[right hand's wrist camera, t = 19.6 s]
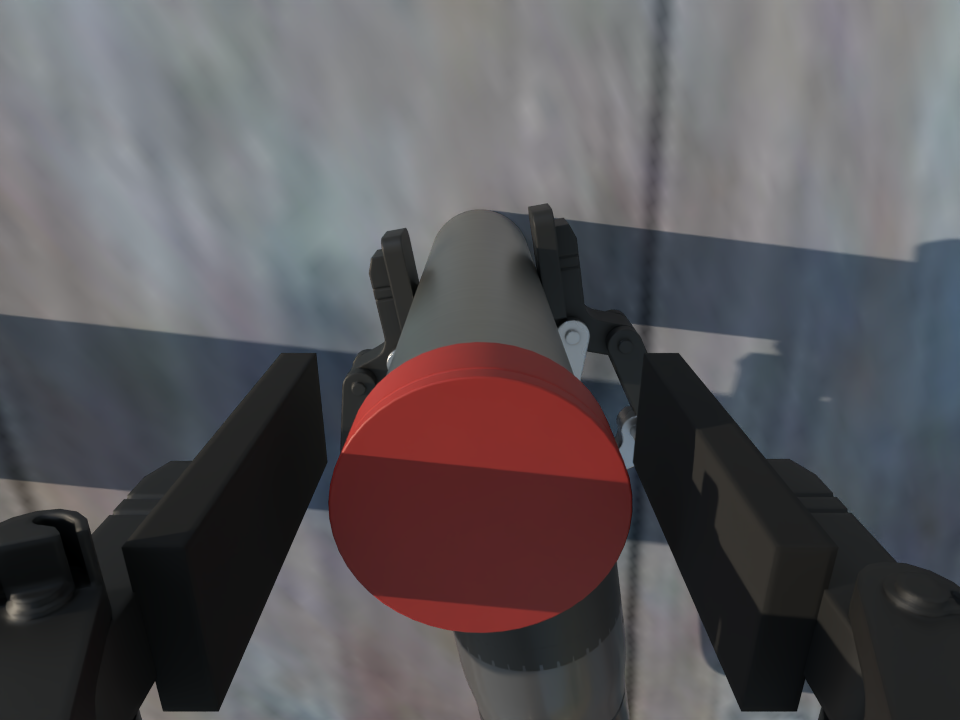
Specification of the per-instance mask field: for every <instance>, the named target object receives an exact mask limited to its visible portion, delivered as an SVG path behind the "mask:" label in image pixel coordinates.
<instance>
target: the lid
mask: <svg viewBox="0 0 960 720" xmlns="http://www.w3.org/2000/svg"><path fill="white" fill-rule="evenodd" d="M328 503H329V519H330V524H331V528H332V533H333V537H334V539H335V542H336V545H337V547H338V550H339V552H340V554H341V556H342V558H343V559H344V561H345V563H346V565H347V567H348V568H349V569H350V571H351V572H352V573H353V575H354V576H355V577H356V579H357V580H358V581H359V582H360V583H361V584H362V585H363V586H364V587H365V588H366V589H367V590H368V591H369V592H370V593H371V594H372V595H374V596H375V597H376V598H377V599H379V600H380V601H381V602H382V603H384V604H385V605H387V606H389V607H390V608H392V609H393V610H395V611H397V612H398V613H400V614H402V615H405V616H407V617H409V618H411V619H413V620H415V621H418V622H421V623H424V624H427V625H430V626H433V627H438V628H442V629H446V630H452V631H460V632H471V633H490V632H503V631H509V630H514V629H520V628H524V627H527V626H531V625H534V624H538V623H540V622H543V621H545V620H548V619H550V618H553V617H555V616H557V615H558V614H560V613H562V612H564V611H566V610H568V609H570V608H571V607H573V606H574V605H575V604H577V603H578V602H580V601H581V600H583V599H584V598H585V597H586V596H587V595H589V594H590V593H591V592H592V591H593V590H594V589H595V588H596V587H597V586H598V585H599V584H600V583H601V582H602V581H603V579H604V578H605V577H606V576H607V575H608V574H609V572H610V571H611V569H612V568H613V566H614V565H615V563H616V562H617V560H618V558H619V556H620V554H621V552H622V550H623V547H624V545H625V542H626V539H627V536H628V533H629V529H630V524H631V517H632V490H631V484H630V478H629V475H628V472H627V469H626V466H625V463H624V460H623V458H622V455H621V453H620V451H619V448H618V445H617V443H616V441H615V438H614V436H613V433H612V431H611V429H610V426H609V424H608V421H607V419H606V417H605V415H604V413H603V411H602V409H601V407H600V405H599V403H598V402H597V401H596V399H595V398H594V396H593V395H592V394H591V392H590V391H589V390H588V389H587V388H586V387H585V385H584V384H583V383H582V382H581V381H580V380H579V379H578V378H577V377H575V376H574V375H573V374H572V373H570V372H569V371H568V370H567V369H565V368H564V367H563V366H561V365H559V364H558V363H556V362H554V361H553V360H551V359H549V358H547V357H545V356H543V355H540V354H538V353H536V352H533V351H531V350H527V349H524V348H520V347H517V346H513V345H507V344H501V343H490V342H471V343H459V344H454V345H449V346H444V347H440V348H437V349H434V350H431V351H428V352H425V353H422V354H420V355H418V356H416V357H414V358H412V359H410V360H408V361H406V362H405V363H403V364H402V365H400V366H399V367H397V368H396V369H394V370H393V371H391V372H390V373H389V374H388V375H387V376H386V377H385V378H383V379H382V380H381V381H380V382H379V383H378V384H377V385H376V386H375V388H374V389H373V390H372V391H371V392H370V393H369V395H368V396H367V397H366V399H365V401H364V402H363V404H362V405H361V407H360V409H359V410H358V412H357V415H356V417H355V419H354V422H353V424H352V426H351V429H350V431H349V434H348V436H347V439H346V441H345V443H344V446H343V448H342V451H341V453H340V456H339V458H338V461H337V463H336V465H335V468H334V472H333V476H332V479H331V483H330V491H329V501H328Z"/></svg>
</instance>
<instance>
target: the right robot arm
mask: <svg viewBox="0 0 960 720" xmlns="http://www.w3.org/2000/svg"><path fill="white" fill-rule="evenodd" d="M326 464H327V454H326V444H325V434H324V425H323V415H322V405H321V395H320V385H319V376H318V366H317V356H316V353H281V354H280V355H279V357H278V358H277V359H276V360H275V362H274V363H273V364H272V365H271V366H270V368H269V369H268V370H267V371H266V372H265V374H264V375H263V376H262V377H261V378H260V380H259V381H258V382H257V383H256V385H255V386H254V387H253V388H252V389H251V391H250V392H249V393H248V394H247V395H246V397H245V398H244V399H243V400H242V402H241V403H240V404H239V405H238V406H237V408H236V409H235V410H234V411H233V412H232V414H231V415H230V416H229V417H228V419H227V420H226V421H225V422H224V423H223V425H222V426H221V427H220V428H219V429H218V431H217V432H216V433H215V434H214V435H213V437H212V438H211V439H210V440H209V442H208V443H207V444H206V445H205V446H204V448H203V449H202V450H201V451H200V452H199V454H198V455H197V456H196V457H195V459H194V460H193V461H170V462H169V463H167V464H165V465H164V466H162V467H160V468H159V469H157V470H155V471H154V472H152V473H150V474H149V475H147V476H145V477H144V478H143V479H142V480H141V481H140V482H139V484H138V485H137V486H136V487H135V488H134V489H133V490H132V491H131V492H130V493H129V494H128V497H127V499H124V500H123V501H122V502H121V503H120V504H119V505H118V506H117V507H116V509H115V510H114V511H113V515H109V516H108V517H107V518H106V519H105V521H104V522H103V523H102V524H101V525H100V526H99V527H98V528H97V529H96V530H95V531H94V532H93V534H92V535H91V532H90V528H89V524H88V521H87V518H85V517H84V516H82V515H81V514H80V513H78V512H76V511H70V510H64V509H54V510H43V511H35V512H32V513H28V514H24V515H20V516H16V517H13V518H10V519H8V520H6V521H3V522H1V523H0V720H142V718H141V714H140V711H139V708H140V706H141V705H142V703H143V701H144V699H145V698H146V696H147V694H148V692H149V691H150V689H151V687H152V685H153V684H154V682H156V686H157V689H158V693H159V697H160V701H161V705H162V709H163V711H219V709H220V707H221V705H222V703H223V700H224V698H225V696H226V693H227V691H228V689H229V687H230V684H231V682H232V680H233V677H234V675H235V673H236V670H237V668H238V666H239V664H240V661H241V659H242V657H243V654H244V652H245V650H246V648H247V645H248V643H249V641H250V638H251V636H252V634H253V631H254V629H255V627H256V625H257V622H258V620H259V618H260V615H261V613H262V611H263V609H264V606H265V604H266V602H267V599H268V597H269V595H270V593H271V590H272V588H273V586H274V583H275V581H276V579H277V576H278V574H279V572H280V570H281V567H282V565H283V563H284V560H285V558H286V556H287V554H288V551H289V549H290V547H291V544H292V542H293V540H294V538H295V535H296V533H297V531H298V528H299V526H300V524H301V521H302V519H303V517H304V515H305V512H306V510H307V508H308V505H309V503H310V501H311V499H312V496H313V494H314V492H315V489H316V487H317V485H318V482H319V480H320V478H321V476H322V473H323V471H324V469H325V466H326ZM633 464H634V466H635V469H636V471H637V473H638V476H639V478H640V480H641V482H642V485H643V487H644V489H645V492H646V494H647V496H648V499H649V501H650V503H651V505H652V508H653V510H654V512H655V515H656V517H657V519H658V521H659V524H660V526H661V528H662V531H663V533H664V535H665V538H666V540H667V542H668V544H669V547H670V549H671V551H672V554H673V556H674V558H675V560H676V563H677V565H678V567H679V570H680V572H681V574H682V576H683V579H684V581H685V583H686V586H687V588H688V590H689V593H690V595H691V597H692V599H693V602H694V604H695V606H696V609H697V611H698V613H699V615H700V618H701V620H702V622H703V625H704V627H705V629H706V632H707V634H708V636H709V638H710V641H711V643H712V645H713V648H714V650H715V652H716V654H717V657H718V659H719V661H720V664H721V666H722V668H723V670H724V673H725V675H726V677H727V680H728V682H729V684H730V687H731V689H732V691H733V693H734V696H735V698H736V700H737V703H738V705H739V707H740V709H741V711H797V709H798V705H799V701H800V697H801V693H802V689H803V686H804V682H805V679H806V680H807V682H808V684H809V686H810V687H811V689H812V691H813V693H814V694H815V696H816V698H817V700H818V701H819V703H820V705H821V706H822V707H821V711H820V714H819V718H818V720H960V587H959V586H958V585H956V584H955V583H954V582H952V581H950V580H948V579H946V578H944V577H942V576H940V575H938V574H936V573H934V572H932V571H929V570H926V569H923V568H919V567H916V566H913V565H909V564H906V563H897V562H896V561H895V560H894V559H893V557H892V556H891V555H890V554H889V553H888V552H887V551H886V550H885V549H884V548H883V547H882V546H881V545H880V543H879V542H878V541H877V540H876V539H875V538H874V537H873V536H872V535H871V534H870V533H869V532H868V531H867V529H866V528H865V527H864V526H863V525H862V524H861V523H860V522H859V521H858V520H857V519H856V518H855V516H854V515H853V514H852V513H848V511H847V508H846V507H845V506H844V505H843V504H842V502H841V501H840V500H839V499H838V498H837V497H833V493H832V492H831V491H830V489H829V488H828V487H827V486H826V485H825V484H824V483H823V482H822V481H821V480H820V479H819V478H818V477H817V475H815V474H814V473H812V472H810V471H809V470H807V469H805V468H804V467H802V466H800V465H799V464H797V463H795V462H794V461H792V460H790V459H765V457H764V456H763V455H762V454H761V452H760V451H759V450H758V449H757V448H756V446H755V445H754V444H753V443H752V442H751V440H750V439H749V438H748V437H747V435H746V434H745V433H744V432H743V431H742V429H741V428H740V427H739V426H738V425H737V423H736V422H735V421H734V420H733V419H732V417H731V416H730V415H729V414H728V412H727V411H726V410H725V409H724V408H723V406H722V405H721V404H720V403H719V402H718V400H717V399H716V398H715V397H714V395H713V394H712V393H711V392H710V391H709V389H708V388H707V387H706V386H705V385H704V383H703V382H702V381H701V380H700V378H699V377H698V376H697V375H696V374H695V372H694V371H693V370H692V369H691V368H690V366H689V365H688V364H687V363H686V362H685V360H684V359H683V358H682V357H681V355H680V354H679V353H644V356H643V366H642V376H641V385H640V395H639V405H638V415H637V425H636V434H635V444H634V454H633Z"/></svg>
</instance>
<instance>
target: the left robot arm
mask: <svg viewBox="0 0 960 720" xmlns="http://www.w3.org/2000/svg"><path fill="white" fill-rule="evenodd" d="M528 211H529V219H530V226H531V233H532V240H533V247H534V254H535V261H536V268H537V273H538V276H539V279H540V282H541V284H542V287H543V290H544V293H545V295H546V298H547V301H548V304H549V307H550V309H551V312H552V315H553V318H554V321H555V323H556V326H557V329H558V332H559V334H560V337H561V340H562V343H563V346H564V348H565V351H566V354H567V357H568V360H569V362H570V365H571V368H572V371H573V373H574V376H575V377H577V378H578V379H579V380H580V381H581V376H582V371H583V367H584V362H585V357H586V353H587V351H588V352H594V353H600V354H605V355H608V356H609V358H610V360H611V363H612V365H613V367H614V369H615V372H616V374H617V376H618V379H619V381H620V383H621V385H622V388H623V390H624V392H625V394H626V397H627V399H628V401H629V403H630V406H627V407H625V408H623V409H622V410H621V411H620V413H619V414H618V416H617V426H618V432H617V435H616V437H615V441H616V443H617V445H618V448H619V451H620V453H621V455H622V458H623V460H624V463H625V466H626V469H629V468H632V467H634V464H633V454H634V444H635V434H636V425H637V415H638V405H639V395H640V385H641V376H642V366H643V356H644V353H647V351H646V349H645V346H644V344H643V342H642V339H641V337H640V336H639V334H638V333H637V331H636V330H635V329H634V327H633V326H632V324H631V323H630V322H629V320H628V319H627V318H626V316H625V315H624V314H623V313H622V312H620V311H618V310H608V311H600V310H594V309H591V308H588V307H587V306H586V305H584V297H583V289H582V280H581V271H580V263H579V256H578V246H577V238H576V236H575V234H574V233H573V231H572V229H571V227H570V225H569V224H568V223H567V221H566V220H565V219H564V218H559V219H554V216H553V212H552V209H551V207H550V206H549V205H548V203H547V204H541V205H536V206H530V207H528ZM381 245H382V249H380V250H377V251H376V253H375V254H374V255H373V257H372V258H371V263H370V270H369V276H370V280H371V284H372V288H373V292H374V296H375V299H376V304H377V308H378V312H379V316H380V320H381V325H382V329H383V333H384V337H385V342H384V343H382V344H381V345H379V346H377V347H375V348H374V349H366V350H363V351H361V352H360V353H358V355H357V356H356V358H355V360H354V362H353V367H352V369H351V371H350V372H349V373H348V374H347V376H346V378H345V380H344V382H343V386H342V418H341V451H342V448H343V446H344V443H345V441H346V439H347V436H348V434H349V431H350V429H351V426H352V424H353V422H354V419H355V417H356V415H357V412H358V410H359V409H360V407H361V405H362V404H363V402H364V401H365V399H366V397H367V396H368V395H369V393H370V392H371V391H372V390H373V389H374V388H375V386H376V385H377V384H378V383H379V382H380V381H381V380H382V379H383V378H385V377H386V375H387V372H388V369H389V367H390V364H391V361H392V358H393V355H394V353H395V350H396V347H397V344H398V341H399V338H400V336H401V333H402V330H403V327H404V324H405V322H406V319H407V316H408V313H409V310H410V308H411V305H412V302H413V299H414V296H415V294H416V291H417V288H418V285H419V279H418V274H417V270H416V265H415V260H414V256H413V251H412V247H411V242H410V237H409V234H408V231H407V229H406V228H403V229H397V230H392V231H387V232H386V233H385V234H384V236H383V237H382V239H381ZM341 451H340V453H341ZM453 632H454V636H455V640H456V645H457V649H458V653H459V657H460V661H461V664H462V668H463V671H464V674H465V677H466V680H467V682H468V685H469V687H470V689H471V691H472V693H473V695H474V698H475V700H476V703H477V706H478V710H479V714H480V718H481V720H630V718H629V709H628V701H627V693H626V685H625V661H626V641H625V629H624V620H623V612H622V604H621V594H620V586H619V577H618V568H617V562H616V563H615V565H614V566H613V568H612V569H611V571H610V572H609V574H608V575H607V576H606V577H605V578H604V579H603V581H602V582H601V583H600V584H599V585H598V586H597V587H596V588H595V589H594V590H593V591H592V592H591V593H590V594H589V595H587V596H586V597H585V598H584V599H583V600H581V601H580V602H578V603H577V604H575V605H574V606H573V607H571V608H570V609H568V610H566V611H564V612H562V613H560V614H558V615H557V616H555V617H553V618H550V619H548V620H545V621H543V622H540V623H538V624H534V625H531V626H527V627H524V628H520V629H514V630H509V631H503V632H490V633H471V632H460V631H453Z"/></svg>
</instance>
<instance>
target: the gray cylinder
mask: <svg viewBox="0 0 960 720" xmlns="http://www.w3.org/2000/svg"><path fill="white" fill-rule="evenodd" d="M471 342H490V343H501V344H507V345H513V346H517V347H520V348H524V349H527V350H531V351H533V352H536V353H538V354H540V355H543V356H545V357H547V358H549V359H551V360H553V361H554V362H556V363H558V364H559V365H561V366H563V367H564V368H565V369H567V370H568V371H569V372H570V373H572V374H573V375H574V373H573V371H572V368H571V365H570V362H569V360H568V357H567V354H566V351H565V348H564V346H563V343H562V340H561V337H560V334H559V332H558V329H557V326H556V323H555V321H554V318H553V315H552V312H551V309H550V307H549V304H548V301H547V298H546V295H545V293H544V290H543V287H542V284H541V282H540V279H539V276H538V273H537V270H536V268H535V265H534V262H533V259H532V256H531V254H530V251H529V248H528V245H527V243H526V240H525V238H524V236H523V234H522V232H521V231H520V229H519V228H518V227H517V226H516V225H515V224H514V223H513V222H512V221H511V220H510V219H508V218H507V217H505V216H503V215H501V214H499V213H497V212H493V211H489V210H471V211H467V212H464V213H461V214H459V215H457V216H455V217H453V218H452V219H451V220H449V221H448V222H447V223H446V224H445V225H444V226H443V227H442V228H441V230H440V231H439V233H438V234H437V236H436V238H435V241H434V243H433V246H432V249H431V251H430V254H429V257H428V260H427V263H426V265H425V268H424V271H423V274H422V277H421V279H420V282H419V285H418V288H417V291H416V294H415V296H414V299H413V302H412V305H411V308H410V310H409V313H408V316H407V319H406V322H405V324H404V327H403V330H402V333H401V336H400V338H399V341H398V344H397V347H396V350H395V353H394V355H393V358H392V361H391V364H390V367H389V369H388V372H387V375H388V374H389V373H390V372H391V371H393V370H394V369H396V368H397V367H399V366H400V365H402V364H403V363H405V362H406V361H408V360H410V359H412V358H414V357H416V356H418V355H420V354H422V353H425V352H428V351H431V350H434V349H437V348H440V347H444V346H449V345H454V344H459V343H471ZM387 375H386V376H387Z"/></svg>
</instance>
